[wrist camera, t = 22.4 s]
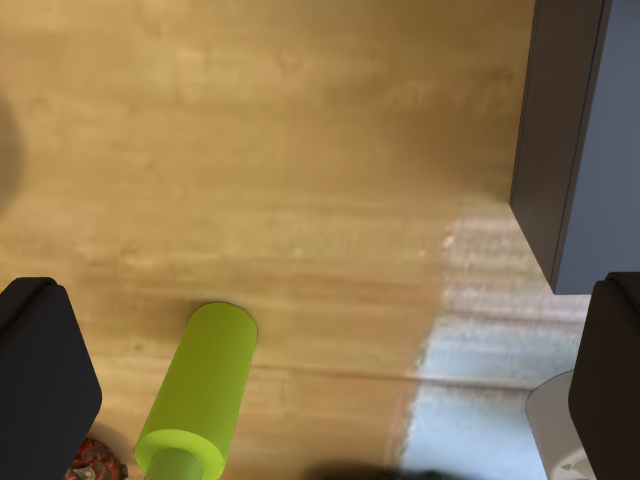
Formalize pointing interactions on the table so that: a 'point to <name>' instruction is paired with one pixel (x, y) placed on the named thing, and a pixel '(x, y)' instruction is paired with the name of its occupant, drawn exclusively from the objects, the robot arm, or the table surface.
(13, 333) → the robot arm
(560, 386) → the lumpy-topped squat cylinder
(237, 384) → the soap dispenser
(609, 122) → the lid
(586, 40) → the chest
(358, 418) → the table surface
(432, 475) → the toy figurine
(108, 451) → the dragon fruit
